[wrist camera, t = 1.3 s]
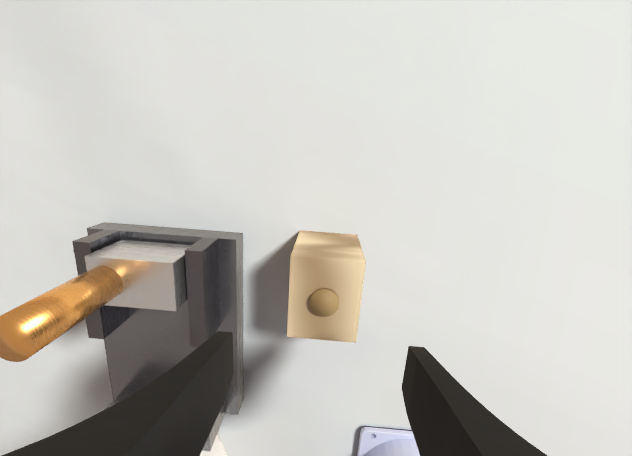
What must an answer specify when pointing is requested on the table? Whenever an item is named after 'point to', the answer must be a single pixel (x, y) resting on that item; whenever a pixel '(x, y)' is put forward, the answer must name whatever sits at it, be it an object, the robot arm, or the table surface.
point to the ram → (98, 294)
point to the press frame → (172, 326)
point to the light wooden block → (325, 286)
